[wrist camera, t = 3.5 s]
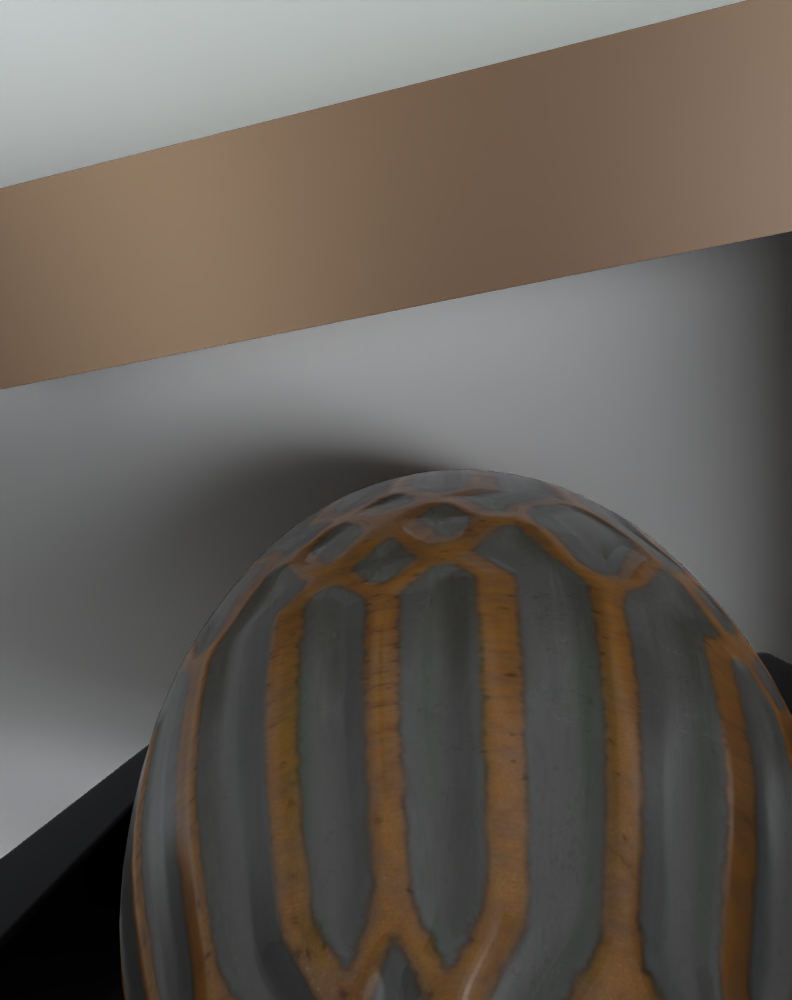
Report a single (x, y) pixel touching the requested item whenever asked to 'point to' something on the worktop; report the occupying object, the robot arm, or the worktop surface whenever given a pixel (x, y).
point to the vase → (464, 768)
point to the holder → (407, 197)
